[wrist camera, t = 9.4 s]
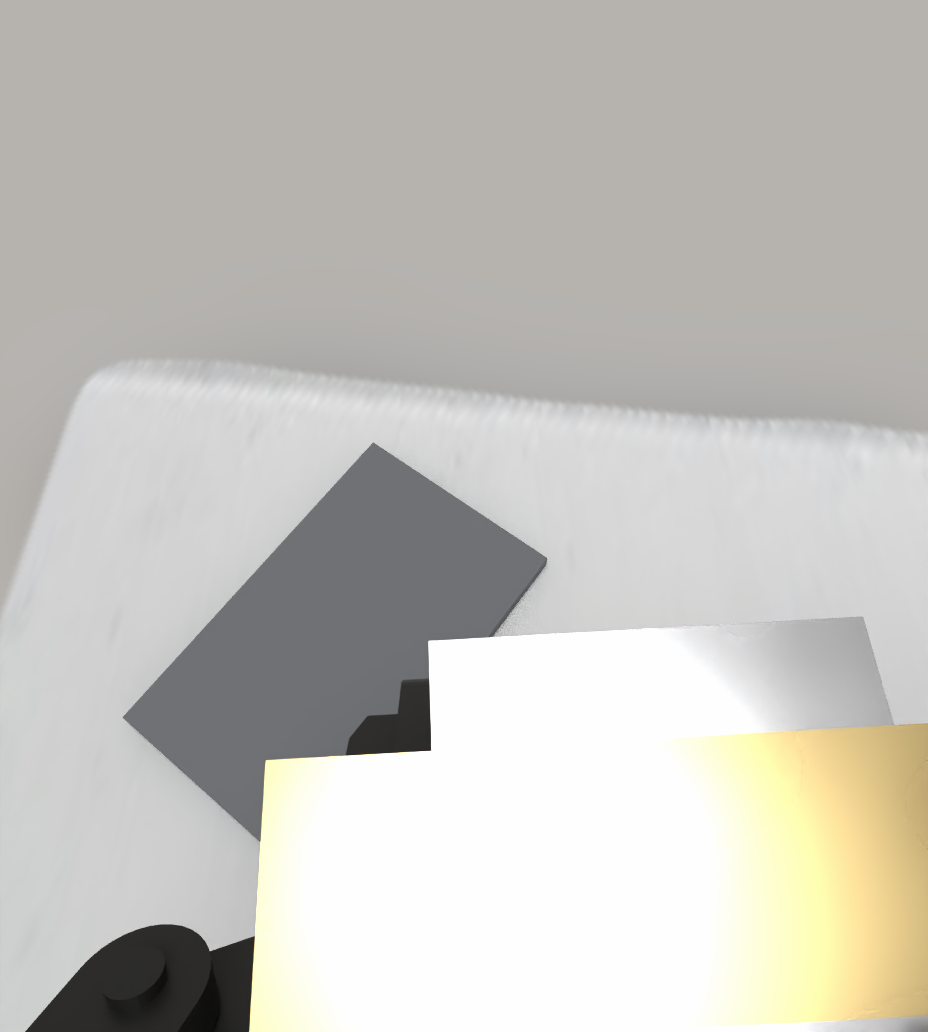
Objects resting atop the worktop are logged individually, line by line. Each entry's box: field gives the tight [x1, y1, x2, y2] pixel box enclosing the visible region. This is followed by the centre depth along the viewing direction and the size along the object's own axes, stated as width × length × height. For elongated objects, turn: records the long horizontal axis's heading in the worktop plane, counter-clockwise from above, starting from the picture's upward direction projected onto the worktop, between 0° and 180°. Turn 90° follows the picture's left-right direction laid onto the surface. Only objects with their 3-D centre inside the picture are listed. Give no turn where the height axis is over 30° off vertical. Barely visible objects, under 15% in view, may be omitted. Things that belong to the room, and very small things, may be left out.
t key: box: [249, 617, 928, 1032], centre depth 10 cm, size 6×4×13 cm, turn 93°
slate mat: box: [123, 443, 547, 842], centre depth 32 cm, size 16×10×1 cm, turn 143°
